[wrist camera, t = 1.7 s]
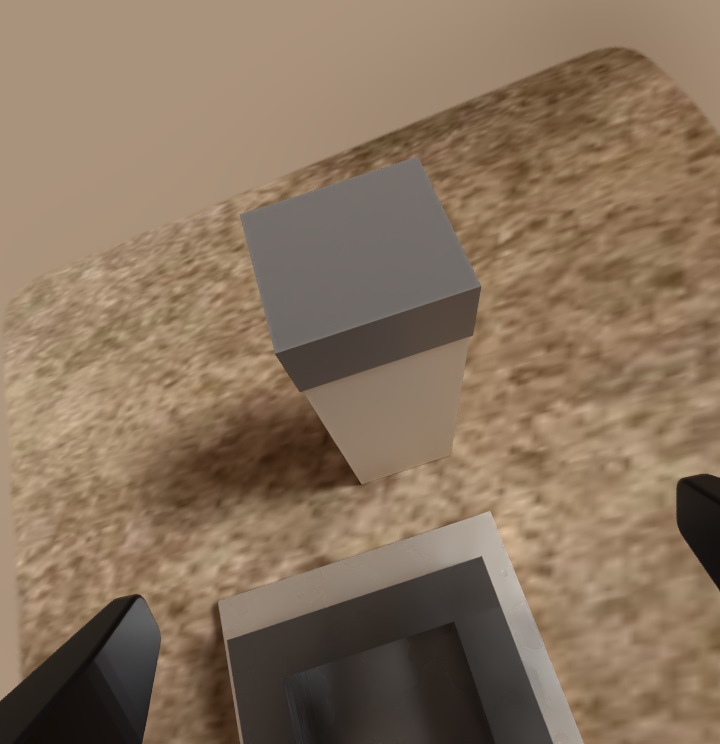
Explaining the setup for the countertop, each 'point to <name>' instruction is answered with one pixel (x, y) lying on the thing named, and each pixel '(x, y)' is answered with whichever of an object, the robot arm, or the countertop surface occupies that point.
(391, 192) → the plug block
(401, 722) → the socket plate
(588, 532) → the countertop surface
